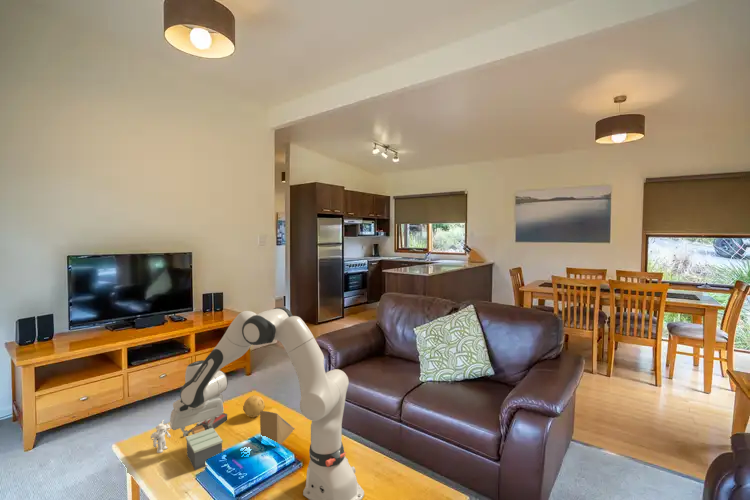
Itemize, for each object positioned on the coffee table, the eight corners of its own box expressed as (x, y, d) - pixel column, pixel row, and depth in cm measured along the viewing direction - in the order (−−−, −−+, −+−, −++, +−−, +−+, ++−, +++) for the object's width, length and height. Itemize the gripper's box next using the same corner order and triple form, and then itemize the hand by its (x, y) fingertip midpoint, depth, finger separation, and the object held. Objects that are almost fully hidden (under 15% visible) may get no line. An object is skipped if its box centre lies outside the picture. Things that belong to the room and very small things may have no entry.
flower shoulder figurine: (166, 443, 151) (165, 416, 150) (173, 444, 150) (173, 417, 150) (148, 456, 142) (148, 427, 141) (157, 457, 141) (156, 428, 141)
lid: (222, 445, 140) (222, 438, 140) (194, 456, 133) (194, 449, 133) (210, 428, 152) (209, 422, 152) (183, 437, 145) (183, 431, 145)
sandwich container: (296, 428, 162) (295, 397, 162) (277, 448, 148) (277, 413, 147) (279, 425, 165) (279, 394, 164) (260, 444, 150) (259, 410, 150)
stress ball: (249, 413, 178) (235, 407, 171) (261, 395, 181) (248, 389, 175) (259, 423, 171) (245, 417, 165) (272, 405, 175) (258, 398, 168)
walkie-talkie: (216, 415, 174) (181, 437, 156) (216, 407, 174) (181, 427, 155) (230, 419, 171) (196, 441, 152) (230, 410, 171) (196, 431, 152)
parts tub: (222, 459, 140) (221, 442, 140) (195, 470, 134) (194, 452, 133) (212, 445, 149) (212, 429, 149) (187, 455, 142) (186, 438, 142)
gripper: (220, 389, 156) (221, 419, 156) (168, 404, 142) (169, 437, 143) (225, 394, 151) (226, 425, 152) (172, 410, 137) (172, 444, 138)
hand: (198, 431), depth 147 cm, fingers open, 8 cm apart
